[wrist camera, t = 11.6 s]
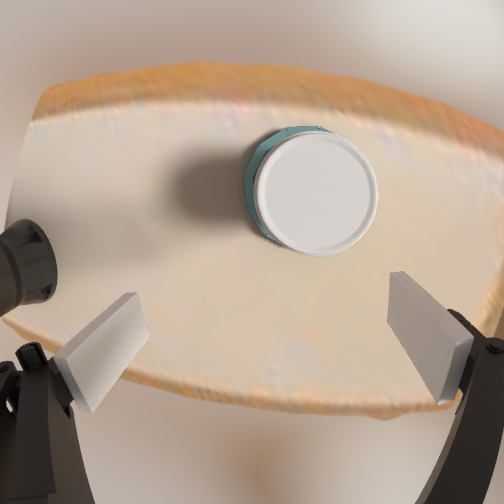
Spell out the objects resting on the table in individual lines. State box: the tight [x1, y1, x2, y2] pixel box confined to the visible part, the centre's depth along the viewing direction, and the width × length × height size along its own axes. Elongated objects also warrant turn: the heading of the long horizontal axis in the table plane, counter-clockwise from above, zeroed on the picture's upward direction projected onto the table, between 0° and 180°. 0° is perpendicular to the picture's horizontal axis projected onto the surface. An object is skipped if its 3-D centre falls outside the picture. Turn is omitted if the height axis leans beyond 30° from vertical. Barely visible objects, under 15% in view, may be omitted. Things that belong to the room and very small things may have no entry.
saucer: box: [244, 126, 334, 242], centre depth 31 cm, size 14×14×2 cm
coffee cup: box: [254, 131, 378, 256], centre depth 26 cm, size 9×9×12 cm
